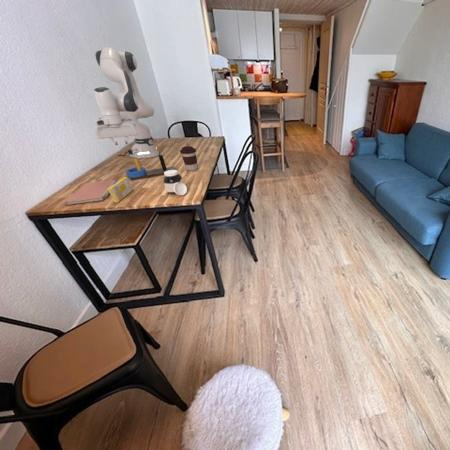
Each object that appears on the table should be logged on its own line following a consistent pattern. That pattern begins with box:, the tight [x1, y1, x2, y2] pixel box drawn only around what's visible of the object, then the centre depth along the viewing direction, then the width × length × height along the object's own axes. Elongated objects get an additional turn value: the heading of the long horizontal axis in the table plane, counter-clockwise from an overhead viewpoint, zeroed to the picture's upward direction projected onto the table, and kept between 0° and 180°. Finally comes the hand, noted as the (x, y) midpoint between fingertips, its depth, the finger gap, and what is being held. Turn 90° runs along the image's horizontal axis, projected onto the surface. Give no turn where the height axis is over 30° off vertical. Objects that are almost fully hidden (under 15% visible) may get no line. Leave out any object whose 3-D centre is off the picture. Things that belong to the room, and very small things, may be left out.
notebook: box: [65, 179, 118, 206], centre depth 139 cm, size 27×17×2 cm, turn 19°
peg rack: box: [130, 154, 176, 181], centre depth 162 cm, size 26×10×12 cm, turn 122°
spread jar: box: [163, 169, 188, 196], centre depth 136 cm, size 12×11×12 cm
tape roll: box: [125, 166, 147, 179], centre depth 159 cm, size 11×11×3 cm
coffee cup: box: [179, 145, 199, 172], centre depth 169 cm, size 10×10×15 cm
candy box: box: [108, 176, 134, 204], centre depth 133 cm, size 16×2×8 cm, turn 5°
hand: (121, 144), depth 149 cm, fingers open, 4 cm apart
